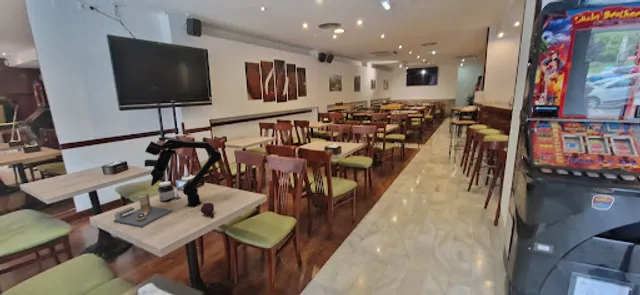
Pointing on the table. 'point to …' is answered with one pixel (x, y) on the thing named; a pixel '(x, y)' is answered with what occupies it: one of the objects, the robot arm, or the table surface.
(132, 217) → the base board
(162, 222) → the table surface
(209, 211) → the icecream
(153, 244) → the table surface
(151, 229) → the table surface
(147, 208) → the link
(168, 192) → the spread jar
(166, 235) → the table surface
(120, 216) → the keeper
